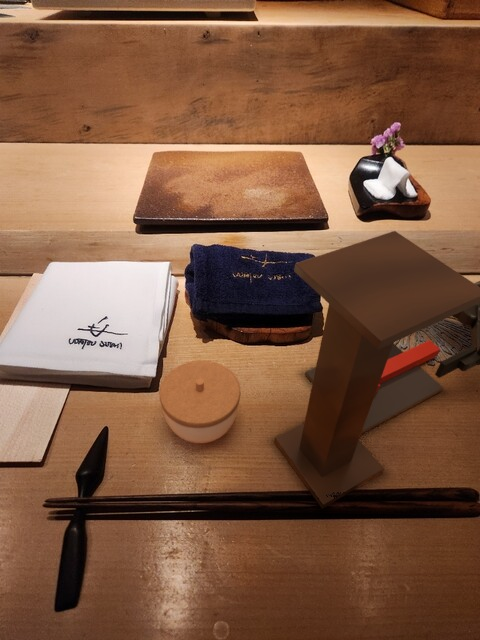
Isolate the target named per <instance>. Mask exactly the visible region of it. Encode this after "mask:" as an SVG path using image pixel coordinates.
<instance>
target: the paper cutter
mask: <svg viewBox="0 0 480 640" xmlns="http://www.w3.org/2000/svg"><path fill="white" fill-rule="evenodd" d="M403 352H404V351H402V349H401V348H399V347H398V346H397V345H396V344H395V343H393V346H392V349H391V351H390V354H389V357H388V359H390V358H392V357H394V356H397V355H399V354H401V353H403ZM315 369H316V366H315V367H313V368H311V369H307V370H306V371H305V372H304V376H305V377H306V378H307V379H308V380H309V381H310V382H311V384H313V379H314V374H315ZM443 390H444V387H443V386H442V385H441V384H440V383H439V382H437V380H435V379H434V377H432V376H431V375H429V373H428V372H426V371H425V370H424V369H423V368H422V367H421V366H420V365H417V366H415V367H413V368H411V369H409V370H407V371H405V372H403V373H401V374H399V375H397V376H395V377H393V378H391V379H389V380H387V381H385V382H383V383H381V384H380V387H379V390H378V392H376V393H375V396H374V399H373V402H372V405H371V407H370V410H369V413H368V416H367V419H366V421H365V424H364V427H363V430H362V433H361V435H363V434H365V433H366V432H368V431H371V430H372V429H374V428H376V427H377V426H379V425H381V424H383V423H385V422H387V421H389V420H391V419H393V418H395V417H397V416H398V415H400V414H401V413H404V412H405V411H407V410H409V409H411V408H413V407H415V406H417V405H418V404H420V403H422V402H424V401H426V400H428V399H430V398H431V397H434V396H435V395H438V394H439V393H440V392H442V391H443Z"/></svg>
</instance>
